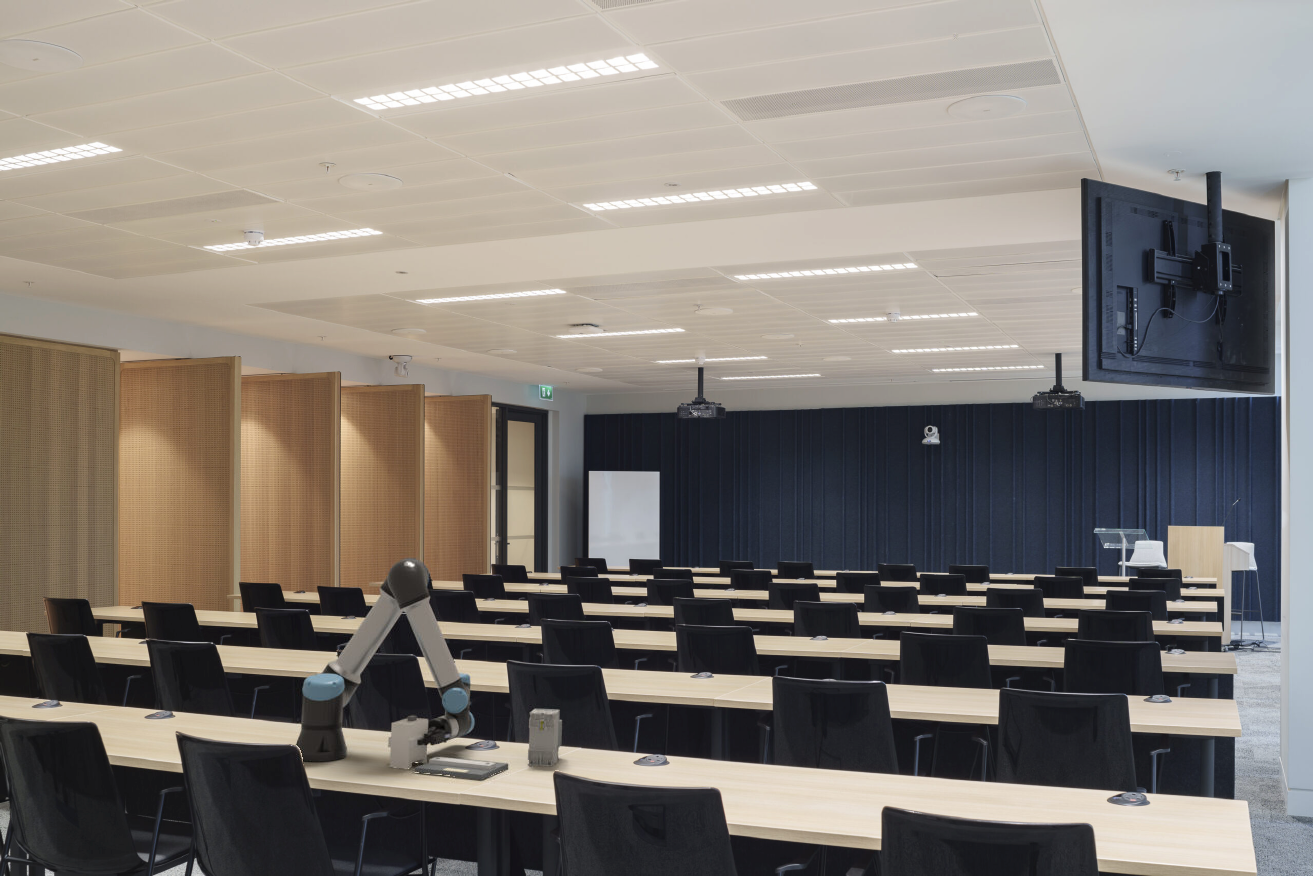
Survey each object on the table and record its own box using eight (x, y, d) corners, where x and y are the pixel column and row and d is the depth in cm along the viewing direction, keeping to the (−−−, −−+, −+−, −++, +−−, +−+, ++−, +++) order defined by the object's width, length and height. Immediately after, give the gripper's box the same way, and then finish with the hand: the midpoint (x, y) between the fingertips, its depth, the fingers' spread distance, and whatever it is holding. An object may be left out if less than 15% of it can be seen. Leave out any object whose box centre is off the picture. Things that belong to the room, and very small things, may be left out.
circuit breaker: (561, 756, 333) (563, 706, 334) (552, 766, 319) (554, 714, 320) (537, 755, 334) (539, 705, 335) (527, 765, 320) (529, 713, 321)
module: (389, 767, 312) (391, 718, 313) (408, 760, 322) (410, 713, 323) (408, 769, 310) (410, 720, 311) (426, 762, 320) (428, 715, 321)
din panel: (414, 773, 306) (415, 762, 306) (443, 761, 321) (444, 751, 321) (481, 780, 299) (482, 769, 300) (508, 768, 314) (508, 758, 315)
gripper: (468, 745, 330) (428, 760, 308) (413, 739, 336) (370, 753, 314) (469, 720, 331) (429, 733, 309) (414, 714, 337) (371, 727, 315)
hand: (399, 743), depth 312 cm, fingers closed on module, 6 cm apart
